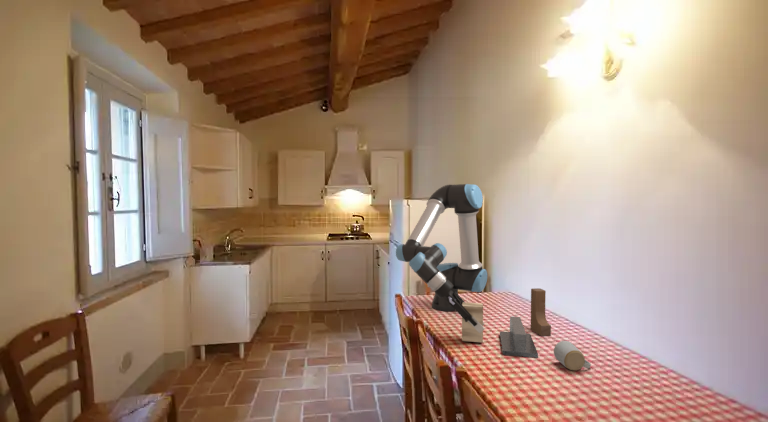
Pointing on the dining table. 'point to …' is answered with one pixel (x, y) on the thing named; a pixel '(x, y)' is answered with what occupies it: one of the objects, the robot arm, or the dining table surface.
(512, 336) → the gray t-shaped block
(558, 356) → the ceramic mug
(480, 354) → the dining table surface
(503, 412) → the dining table surface
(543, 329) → the wooden block
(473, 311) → the birch post
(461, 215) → the robot arm
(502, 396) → the dining table surface
